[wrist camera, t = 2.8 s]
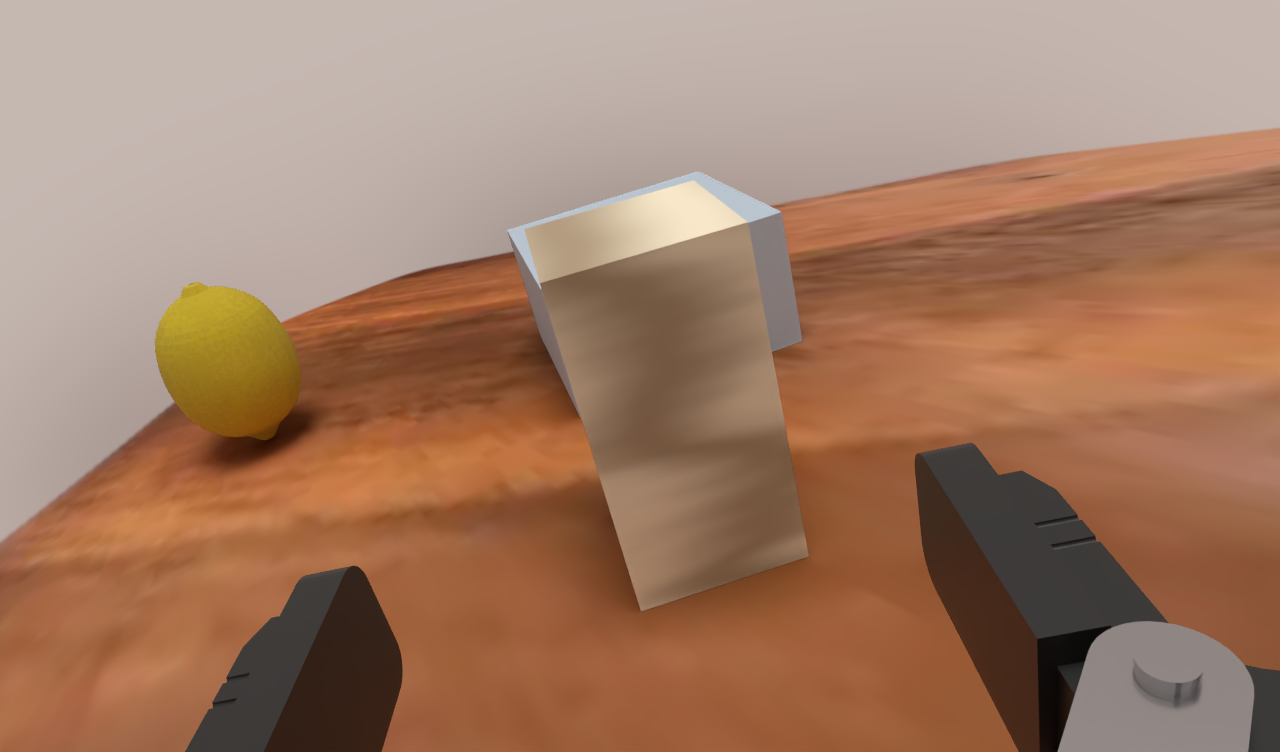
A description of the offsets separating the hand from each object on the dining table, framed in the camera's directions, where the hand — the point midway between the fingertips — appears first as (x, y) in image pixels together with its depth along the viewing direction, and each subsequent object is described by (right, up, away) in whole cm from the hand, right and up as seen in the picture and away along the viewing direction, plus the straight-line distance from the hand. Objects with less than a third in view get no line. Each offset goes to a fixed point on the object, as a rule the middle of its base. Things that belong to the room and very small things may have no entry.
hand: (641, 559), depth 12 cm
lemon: (-18, -1, +28) cm, 33 cm away
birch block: (+2, -2, +14) cm, 14 cm away
